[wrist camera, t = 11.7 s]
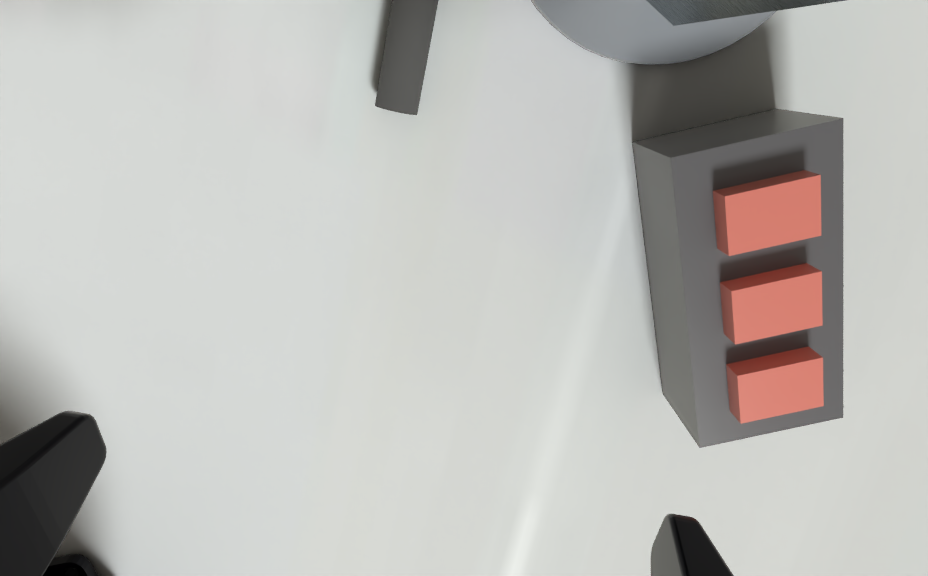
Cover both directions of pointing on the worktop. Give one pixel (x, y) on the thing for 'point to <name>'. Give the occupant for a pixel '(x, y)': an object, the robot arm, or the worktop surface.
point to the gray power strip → (747, 271)
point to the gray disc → (642, 30)
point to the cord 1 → (405, 55)
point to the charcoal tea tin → (722, 8)
